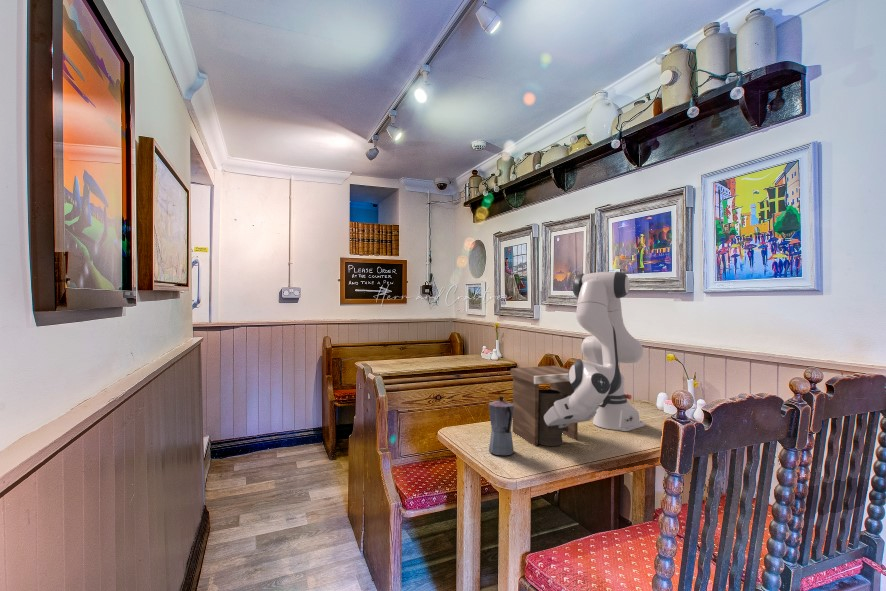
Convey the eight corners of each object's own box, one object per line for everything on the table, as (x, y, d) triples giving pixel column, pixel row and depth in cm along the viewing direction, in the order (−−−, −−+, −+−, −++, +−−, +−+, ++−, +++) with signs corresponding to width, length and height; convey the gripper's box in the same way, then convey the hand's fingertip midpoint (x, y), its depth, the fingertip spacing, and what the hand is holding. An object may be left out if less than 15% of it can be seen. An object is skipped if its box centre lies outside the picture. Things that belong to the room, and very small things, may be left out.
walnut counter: (553, 426, 180) (554, 365, 180) (581, 440, 164) (582, 373, 163) (509, 432, 172) (510, 368, 172) (534, 447, 155) (535, 376, 155)
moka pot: (504, 443, 159) (504, 391, 159) (524, 459, 145) (525, 401, 145) (481, 446, 156) (482, 393, 156) (499, 462, 142) (500, 403, 141)
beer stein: (546, 448, 154) (548, 393, 155) (527, 439, 163) (529, 388, 164) (575, 444, 161) (578, 392, 162) (556, 436, 171) (558, 387, 172)
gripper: (596, 396, 155) (578, 415, 164) (551, 401, 148) (535, 421, 157) (605, 411, 151) (586, 430, 160) (559, 417, 144) (542, 436, 153)
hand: (560, 425), depth 158 cm, fingers closed
